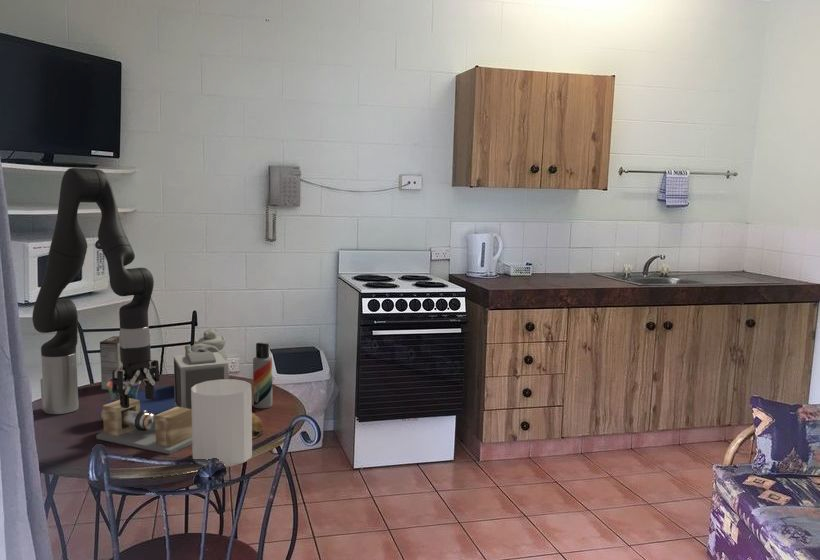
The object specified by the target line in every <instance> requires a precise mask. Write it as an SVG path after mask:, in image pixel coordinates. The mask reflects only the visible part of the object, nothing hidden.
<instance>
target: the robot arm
mask: <svg viewBox="0 0 820 560" xmlns="http://www.w3.org/2000/svg"><path fill="white" fill-rule="evenodd" d="M107 175H108V174H106V173H105V172H104V170H101V169H99V168H98V169H97V168H85V167H83V168H82V167H81V168H80V167H70V168H68V169H67V170H66V171H65V172H64V173H63V176H62V179H61V184H60V190H59V199H58V209H57V215H56V220H55V225H54V226H55V227H54V231H53V235H52V238H51V243H50V247H49V250H48V251H49V252H48V256H47V261H46V266H45V270H44V271H45V272H44V275H43V279H42V282H41V285H40V288H39V291H38V293H37V297H36V300H35V303H34V306H33V310H32V324H33V327H34V329H35V330H36V331H37V332H38V333H41V334H46V333H49V334H50V333H55V332H56V333H55V335H54V336H53V337H52V338H51V339H50V340H48V341H47V342H44V343H43V344H42V345H41V347H40V357H41V372H42V373H41V374H42V378H41V379H40V395H41V396H40V398H41V411H43V412H44V413H45V414H47V415H62V414H69V413H72V412H75V411H78V409H79V388H78V387H79V386H78V366H77V365H78V364H77V344H78V328H79V327H78V325H79V323H78V320H79V319H78V317H79V316H78V310H77V306H76V304H75V303H74V301H72V300H71V299H70V298H60V296H61V294H62V292H63V291H64V290H65V289H66V288H67V286H68V285H70V283H71V282H72V281H73V280H74V279H75V278H76V276H78V274H79V273H80V272H81V270H82V268H83V266H84V264H85V260H86V256H87V251H88V241H87V239H86V237H85V233H84V232H83V230H82V228H81V226H80V224H79V221H78V211H79V207H80V204H81V203H90V204H92V203H94V204H96V205H97V206H98V208H99V210H100V213H101V216H100V217H101V218H100V222H99V227H98V231H97V241H98V244H99V247H100V249H101V251H102V253H103V255H104V257H105V260H106V262H107V263H106V264H107V269H108V275H109V277H108V278H109V285H110V288H111V290H112V292H113V293H114V294H116V295H117V296H118V297H129V296H133V297H132V300H131V301H130V302H129V303H126V304H124V305H122V306H120V307H119V309H118V310H119V311H118V314H119V316H118V317H119V335H118V336H119V341H120V361H121V362H122V364H123V368H122V370H113V372H112V392H113V393H118V394H119V395H120V405H121V407H122V408H129V394H128V392H129V390H130V388H131V387H132V386H133V385H134V383H136V382H138V381H141V382H143V384H145V385H144V390H145V391H144V393H145V394H144V395H145V399H146V400H153V399H154V396H155V384H156V383H157V382H160V380H161V377H160V365H159V361H158V359H157V360H156V359H151V358H152V356H151V334H150V328H149V309H150V308H149V307H150V305H151V304H150V303H151V299H152V295H153V290H154V283H155V281H154V276H153V274H152V272H151V271H150V270H149V269H148V268H146V267H135V268H126V267H127V266H128V265H130V264H131V263H133V262H134V260H135V257H136V256H135V252H134V249H133V247H132V245H131V243H130V241H129V238H128V236H127V234H126V232H125V230H124V228H123V227H124V226H123V225H122V222H121V218H120V214H119V210H118V207H117V206H118V205H117V202H116V199H115V194H114V191H113V187H112V185H111V181H110V179H109V177H108V176H107ZM127 380H128V381H129V382H126V381H127ZM117 385H118V389H117ZM125 386H126V388H125ZM124 388H125V390H124Z"/></svg>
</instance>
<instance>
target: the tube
mask: <svg viewBox="0 0 820 560" xmlns="http://www.w3.org/2000/svg"><path fill="white" fill-rule="evenodd" d="M100 413H101V414H100V417H101V420H103V409H102V410H101V412H100ZM155 415H156V414H154V413H152V412H151V411H150V410H145V409H143V410H140V412H137V411H132V410H127V409H126V410H123V411H121V420H122V424H124V425H129V426H134V427H136V429H137V430H140V431H146V430H147V429H148V430H152V429H154V428H155Z"/></svg>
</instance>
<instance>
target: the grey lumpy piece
mask: <svg viewBox="0 0 820 560" xmlns="http://www.w3.org/2000/svg"><path fill="white" fill-rule="evenodd" d="M225 344H226V338H225V337H223V336H220V335H218V334H217V328H215V327H213V329H211V328H209V329H206V330H205V331H204V332H203V336H200V337H197V338H196V339H195V340H194V343H193V345H190V344H187V345H185V346H184V349H185V353H184V355H185V354H187V353H197V352H209V351H211V352H212V353H214V352H219V353H220V355H221V356H222V357H223V358H224V359H225V360H226V361H227V362H228V356H227V355H228V354H227V351H226V349H225Z"/></svg>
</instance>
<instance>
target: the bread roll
mask: <svg viewBox="0 0 820 560" xmlns="http://www.w3.org/2000/svg"><path fill="white" fill-rule="evenodd" d="M264 430H265V428H264V423H263V421H262V419H261V418H260V417H259V416H257V414H255V413H254V412H252V440H253V439H254V440H255V439H256V438H258V437H260V436H261V435H262V434H263V433H264Z"/></svg>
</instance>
